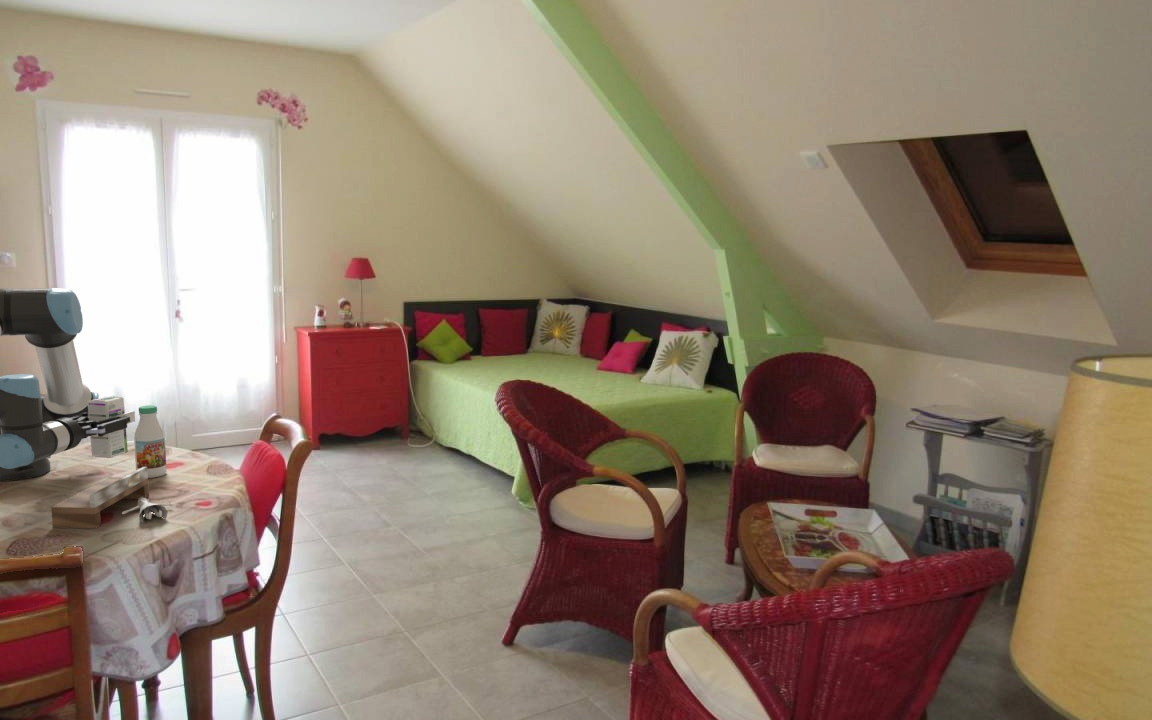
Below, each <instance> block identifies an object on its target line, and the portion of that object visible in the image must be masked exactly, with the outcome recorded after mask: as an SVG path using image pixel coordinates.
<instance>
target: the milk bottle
mask: <svg viewBox="0 0 1152 720" xmlns="http://www.w3.org/2000/svg"><path fill="white" fill-rule="evenodd" d="M157 407H158V406H156V405H152V404H151V405H150V404H149V405H142V406H139V407H138V413H139V414H138V415H139V421H138V424H137V427H135V428H136V429H135V432H134V437H133V438H134V440H133V441H134V458H135V463H134V464H135V471H136V470H138V469H140V468H142V467H147V470H148V479H153V478H158V477H162V476H165V474H167V453H166V440H165V432H164V430H163V427H162V425H161V423H160V422H159V420H158V416H157V414H158V408H157Z"/></svg>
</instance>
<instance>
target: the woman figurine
mask: <svg viewBox="0 0 1152 720" xmlns="http://www.w3.org/2000/svg"><path fill="white" fill-rule="evenodd" d="M173 506H174V503H171V502H168V503H153V502H150V499H149V498H148V499H147V498H144V497H140V498H137V506H134V507H131V508H130V509H127V510H124V511H122V512H121V514H122V515H125V514H127V513H130V512H133V511H136V510H139V514H138V517H139V520H140V522H141V523H142V522H143V515H144V514H145V517H144V518H145V519H147V520H152V516H153V515H152V514H151V512H153V513H155V515H154V516H156V517H157V518H160V517H163V518H165V519H164V520H166V519H167V517H168V510H167V509H166V507H173Z"/></svg>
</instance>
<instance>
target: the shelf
mask: <svg viewBox="0 0 1152 720" xmlns="http://www.w3.org/2000/svg"><path fill="white" fill-rule="evenodd" d="M149 492H150V489H149V478H148V470H147V467H142V468H140V469H138V470H136V469H135V471H133V472H131V473H129V474H127V475H125V476H123V477H121V476H118V477H117V476H116V477H114V476H111V477H110V476H109V477H108V478H104V479H103V480H102V481H101V480H100V481H99V482H97V483H96V484H94V485H92V486H90V487H88V488H86V489H84V490H82V491H80V492H78V493H76V494H74V495H72V496H71V497H68V498H66V499H65V500H63V501H60V502H58V503H57V504H55V505H53V506H51V520H52V523H51V524H52V528H53V529H55V528H56V529H97V528H96V527H98V526H99V527H101V526H100V525H102V523H101V511H103V510H104V509H106V508H108V507H109V506H111V505H114V504H115V503H117V502H118V501H120V500H122V499H139V498H140V497H144V498H146V499H147V498H149V497H150V493H149ZM148 496H149V497H148ZM99 527H98V528H99Z"/></svg>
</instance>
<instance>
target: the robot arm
mask: <svg viewBox="0 0 1152 720" xmlns="http://www.w3.org/2000/svg"><path fill="white" fill-rule="evenodd" d="M83 321H84V320H83V314H82V307H81V303H80V300H79V298H78V296H77V294H76V293H75V292H74V291H73V290H71V289H68V288H58V287H51V288H49V287H48V288H37V287H35V288H0V337H5V336H24V337H25V340H26V342H28V344H30V345H31V346H33V347H34V348H35V351H36V354H37V355H36V356H37V359H38V363H39V365H40V370H41V373H42V377H43V380H44V384H45V389H46V392H45V393H44V394H41V389H40V381H39V378H38V376H36V375H35V374H29V373H19V374H18V373H16V374H7V375H6V374H5V375H2V376H1V375H0V480H1V481H2V482H3V481H4V482H5V481H6V480H10V481H17V480H18V479H20V480H26V478H27V479H31V477H32V478H36V477H40V476H42V474H43V475H45V473H46V472H48V471H49V472H51V470H52V469H51V468H52V467H51V461H50V460H49V459H51V458H52V456H55V455H57V454H60V453H63V452H66V451H68V450H71V449H74V448H76V447H77V446H79V444H80V443H81V441H82V440H84V439H87V438H89V437H90V436H93V435H97V434H98V436H99V437H102V436H104V435H106V434H109V433H112V432H115V431H118V430H122V429H125V428H126V429H127V428H128V425H129V424H131V423H133V422H136V412H135V410H131V411H128V412H125V413H124V414H120V415H117V416H115V418H111V419H106V420H101V421H92V420H91V421H89V415H88V403H87V401H89V400H94V399H98V398H100V397H99V396H100V395H99V393H97V392H95V391H91V390H90V388H89V387H88V386H87V385H85V384H84V383H83V379H82V376H81V375H82V374H81V370H80V366H79V360H78V357H77V353H76V347H75V343H74V342H75V341H74V340H75V339H76V337H77V336H78V334H80V333H81V332H82V330H83V324H84V322H83ZM90 424H91V425H90ZM50 469H51V470H50ZM49 472H48V473H49ZM46 474H47V473H46ZM39 475H40V476H39ZM1 481H0V482H1ZM18 481H19V480H18ZM6 482H7V481H6Z"/></svg>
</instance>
